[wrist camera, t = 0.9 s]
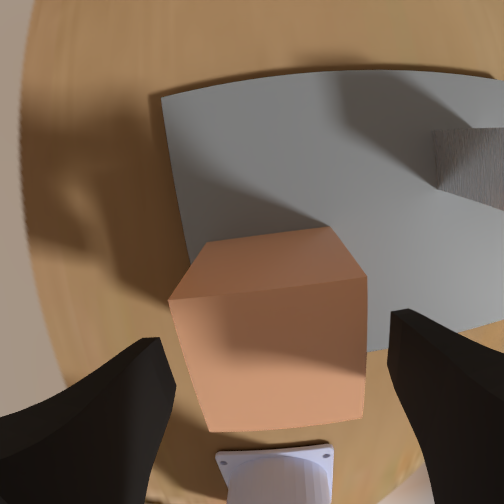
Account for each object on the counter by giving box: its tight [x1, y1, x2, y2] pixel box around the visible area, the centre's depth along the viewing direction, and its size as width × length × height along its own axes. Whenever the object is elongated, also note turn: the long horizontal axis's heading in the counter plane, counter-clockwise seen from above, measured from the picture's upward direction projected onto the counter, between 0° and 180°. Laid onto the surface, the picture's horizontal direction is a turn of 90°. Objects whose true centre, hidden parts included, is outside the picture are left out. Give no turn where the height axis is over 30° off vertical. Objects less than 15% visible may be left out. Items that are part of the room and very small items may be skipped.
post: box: [432, 128, 504, 211], centre depth 9 cm, size 3×3×5 cm
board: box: [161, 70, 504, 352], centre depth 13 cm, size 13×17×1 cm
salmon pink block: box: [168, 226, 368, 432], centre depth 12 cm, size 5×5×6 cm
